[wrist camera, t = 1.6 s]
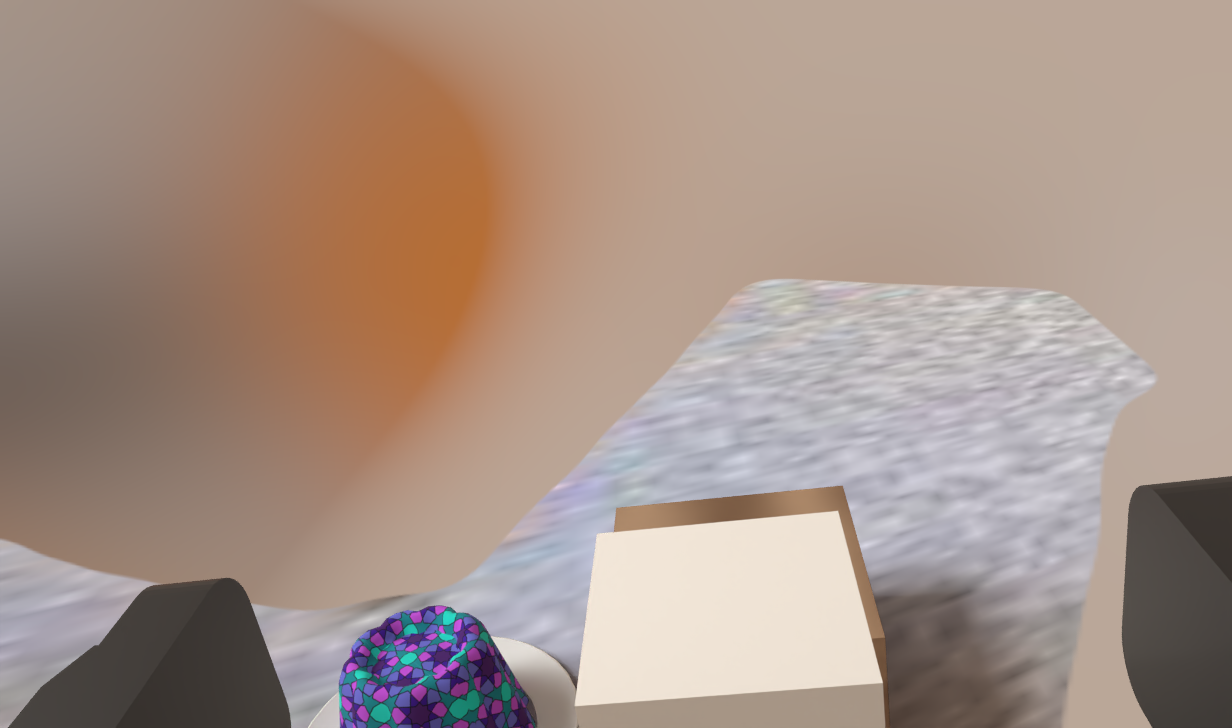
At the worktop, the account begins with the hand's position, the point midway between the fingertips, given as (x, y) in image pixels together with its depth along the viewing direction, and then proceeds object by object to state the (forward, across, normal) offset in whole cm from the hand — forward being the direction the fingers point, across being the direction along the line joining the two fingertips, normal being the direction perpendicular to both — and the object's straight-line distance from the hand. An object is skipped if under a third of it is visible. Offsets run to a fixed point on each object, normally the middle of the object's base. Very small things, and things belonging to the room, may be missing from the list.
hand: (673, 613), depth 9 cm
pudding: (+24, +13, +24) cm, 37 cm away
